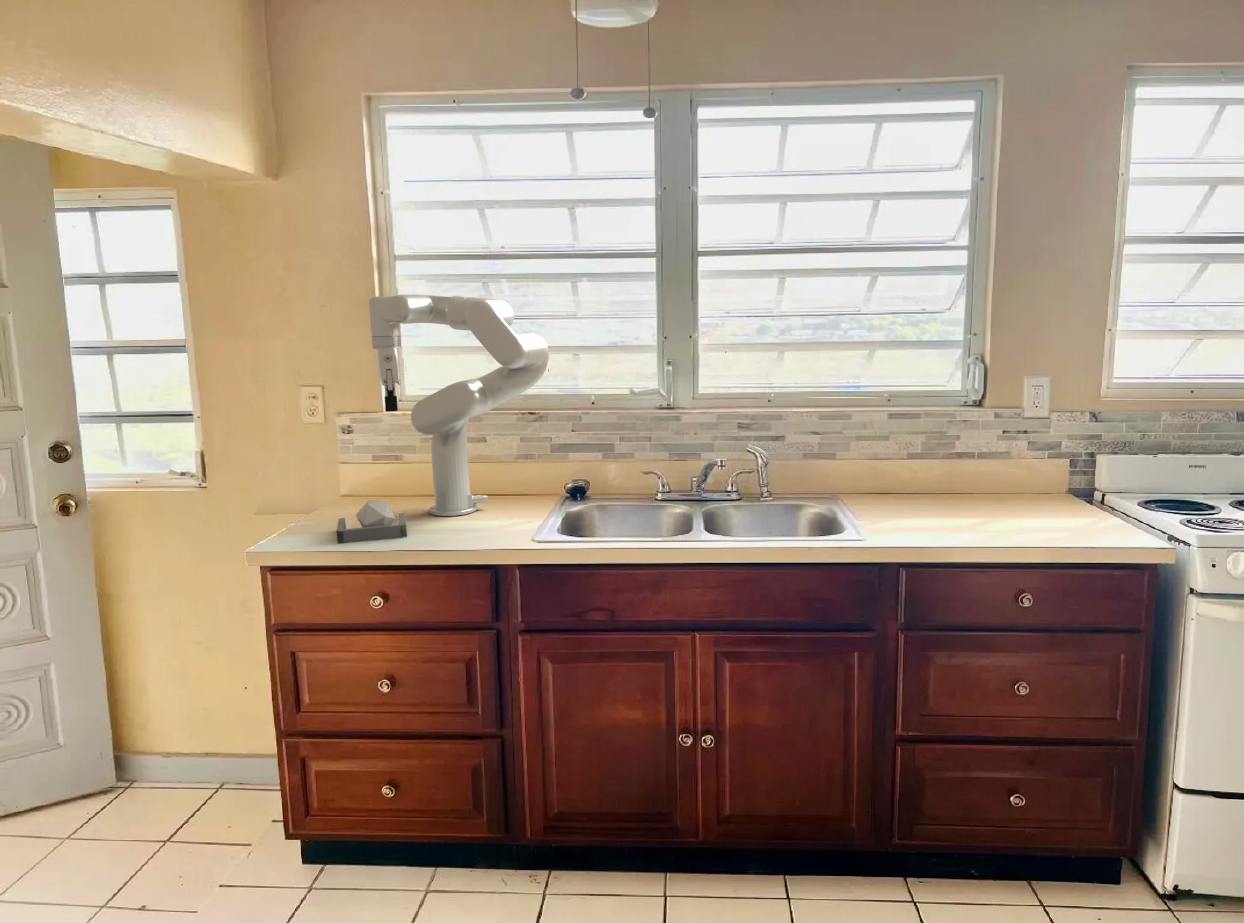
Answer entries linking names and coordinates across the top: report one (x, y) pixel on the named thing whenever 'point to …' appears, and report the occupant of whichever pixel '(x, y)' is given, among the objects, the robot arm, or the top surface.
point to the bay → (371, 531)
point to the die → (375, 514)
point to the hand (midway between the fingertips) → (391, 410)
